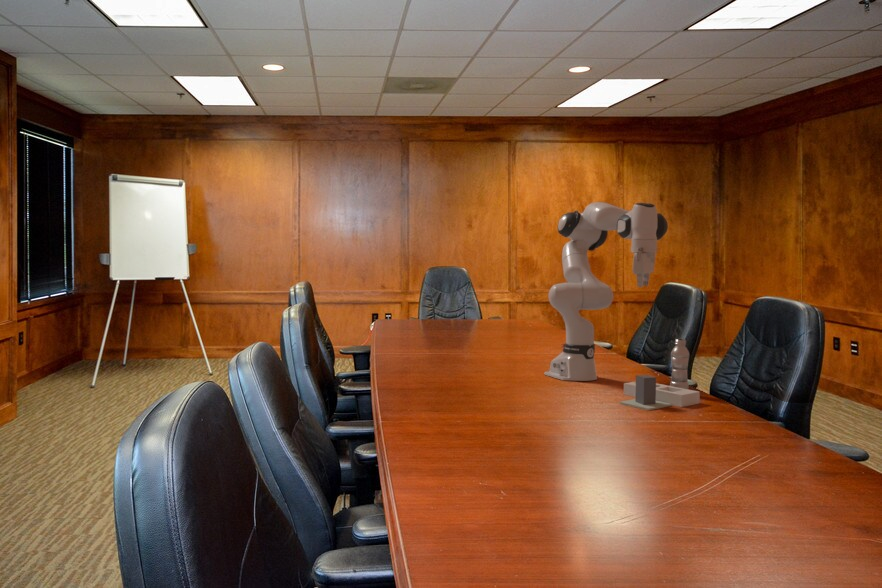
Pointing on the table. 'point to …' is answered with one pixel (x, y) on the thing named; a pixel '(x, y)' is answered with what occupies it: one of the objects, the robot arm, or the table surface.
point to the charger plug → (645, 389)
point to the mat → (646, 407)
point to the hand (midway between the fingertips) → (643, 286)
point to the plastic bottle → (679, 364)
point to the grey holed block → (668, 394)
